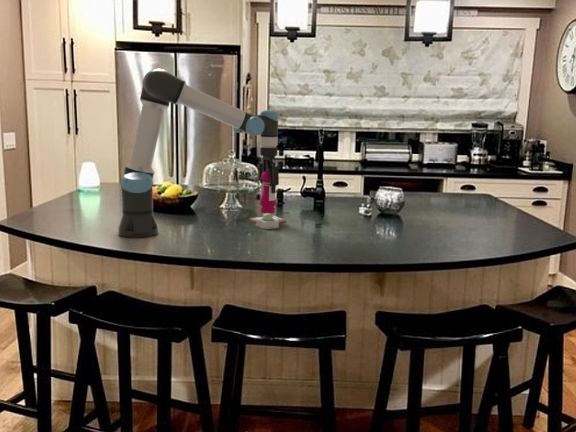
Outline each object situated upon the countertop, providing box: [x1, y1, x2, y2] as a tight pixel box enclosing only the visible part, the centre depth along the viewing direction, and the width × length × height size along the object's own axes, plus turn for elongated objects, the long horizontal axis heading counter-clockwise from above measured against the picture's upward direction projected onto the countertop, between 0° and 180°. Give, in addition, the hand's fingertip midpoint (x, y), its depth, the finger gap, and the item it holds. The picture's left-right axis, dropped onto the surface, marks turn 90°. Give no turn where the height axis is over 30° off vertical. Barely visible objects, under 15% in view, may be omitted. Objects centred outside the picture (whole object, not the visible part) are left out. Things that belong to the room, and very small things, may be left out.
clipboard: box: [248, 215, 287, 224], centre depth 255 cm, size 13×10×1 cm
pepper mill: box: [259, 170, 277, 214], centre depth 253 cm, size 7×7×20 cm
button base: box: [255, 218, 280, 230], centre depth 245 cm, size 7×7×3 cm
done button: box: [262, 213, 273, 222], centre depth 244 cm, size 4×4×4 cm
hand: (267, 198), depth 253 cm, fingers closed on pepper mill, 6 cm apart
